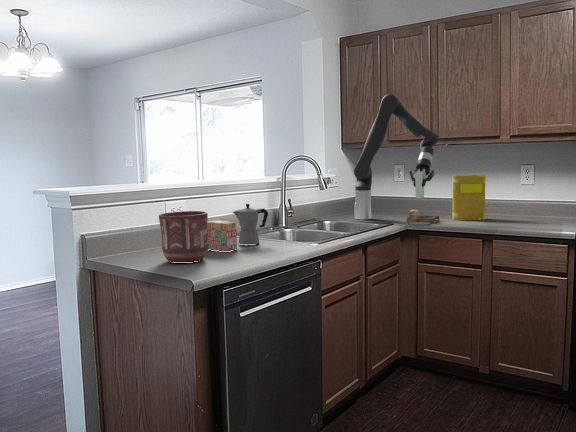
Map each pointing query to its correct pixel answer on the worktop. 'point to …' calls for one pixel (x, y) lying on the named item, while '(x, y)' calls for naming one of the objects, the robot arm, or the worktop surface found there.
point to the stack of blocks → (221, 235)
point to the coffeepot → (249, 224)
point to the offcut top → (413, 212)
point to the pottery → (184, 235)
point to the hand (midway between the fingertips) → (418, 185)
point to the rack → (423, 219)
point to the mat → (420, 223)
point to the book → (468, 197)
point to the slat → (419, 184)
